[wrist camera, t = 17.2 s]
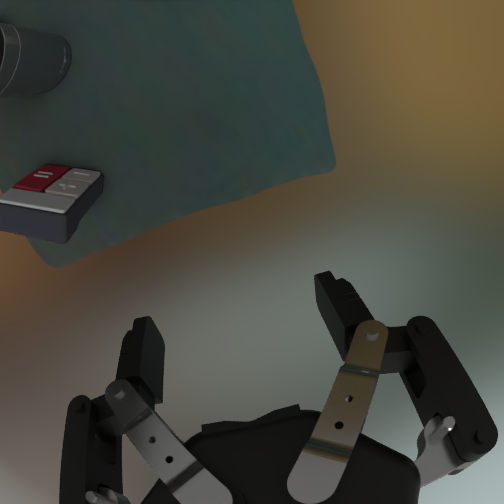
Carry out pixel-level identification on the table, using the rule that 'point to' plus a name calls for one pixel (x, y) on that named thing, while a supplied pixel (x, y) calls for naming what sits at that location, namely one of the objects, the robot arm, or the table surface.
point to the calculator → (49, 202)
